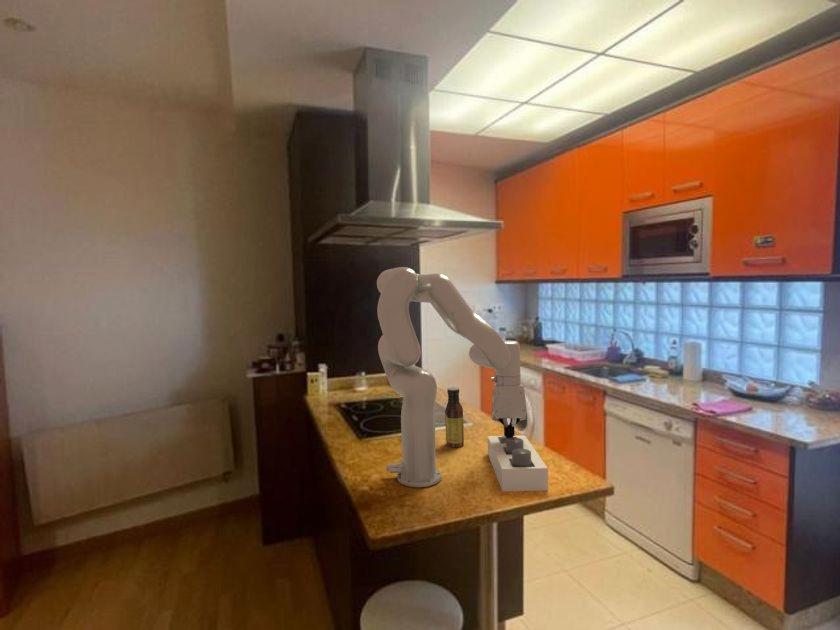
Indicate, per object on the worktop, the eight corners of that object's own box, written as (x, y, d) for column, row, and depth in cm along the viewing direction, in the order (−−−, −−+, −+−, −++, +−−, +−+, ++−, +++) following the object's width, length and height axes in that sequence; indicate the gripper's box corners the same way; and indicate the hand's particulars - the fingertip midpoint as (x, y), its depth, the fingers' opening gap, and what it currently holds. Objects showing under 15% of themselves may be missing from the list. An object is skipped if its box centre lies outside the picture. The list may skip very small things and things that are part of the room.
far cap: (502, 458, 134) (502, 441, 134) (499, 452, 139) (499, 435, 138) (518, 458, 134) (518, 441, 133) (515, 452, 139) (515, 435, 138)
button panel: (502, 491, 114) (502, 469, 114) (487, 454, 140) (487, 436, 140) (548, 490, 114) (547, 468, 114) (525, 453, 140) (524, 435, 140)
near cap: (514, 475, 116) (514, 455, 115) (510, 468, 121) (510, 448, 120) (533, 475, 116) (532, 455, 115) (528, 467, 121) (528, 448, 120)
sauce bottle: (453, 440, 154) (451, 385, 153) (467, 444, 150) (466, 387, 149) (442, 446, 149) (440, 388, 148) (457, 449, 145) (455, 391, 144)
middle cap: (507, 462, 125) (507, 443, 124) (504, 455, 130) (504, 437, 129) (525, 462, 125) (525, 443, 124) (521, 455, 130) (521, 437, 129)
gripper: (485, 383, 131) (487, 443, 132) (535, 382, 131) (536, 441, 132) (482, 378, 139) (483, 435, 140) (529, 377, 139) (530, 433, 140)
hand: (509, 438), depth 136 cm, fingers closed
